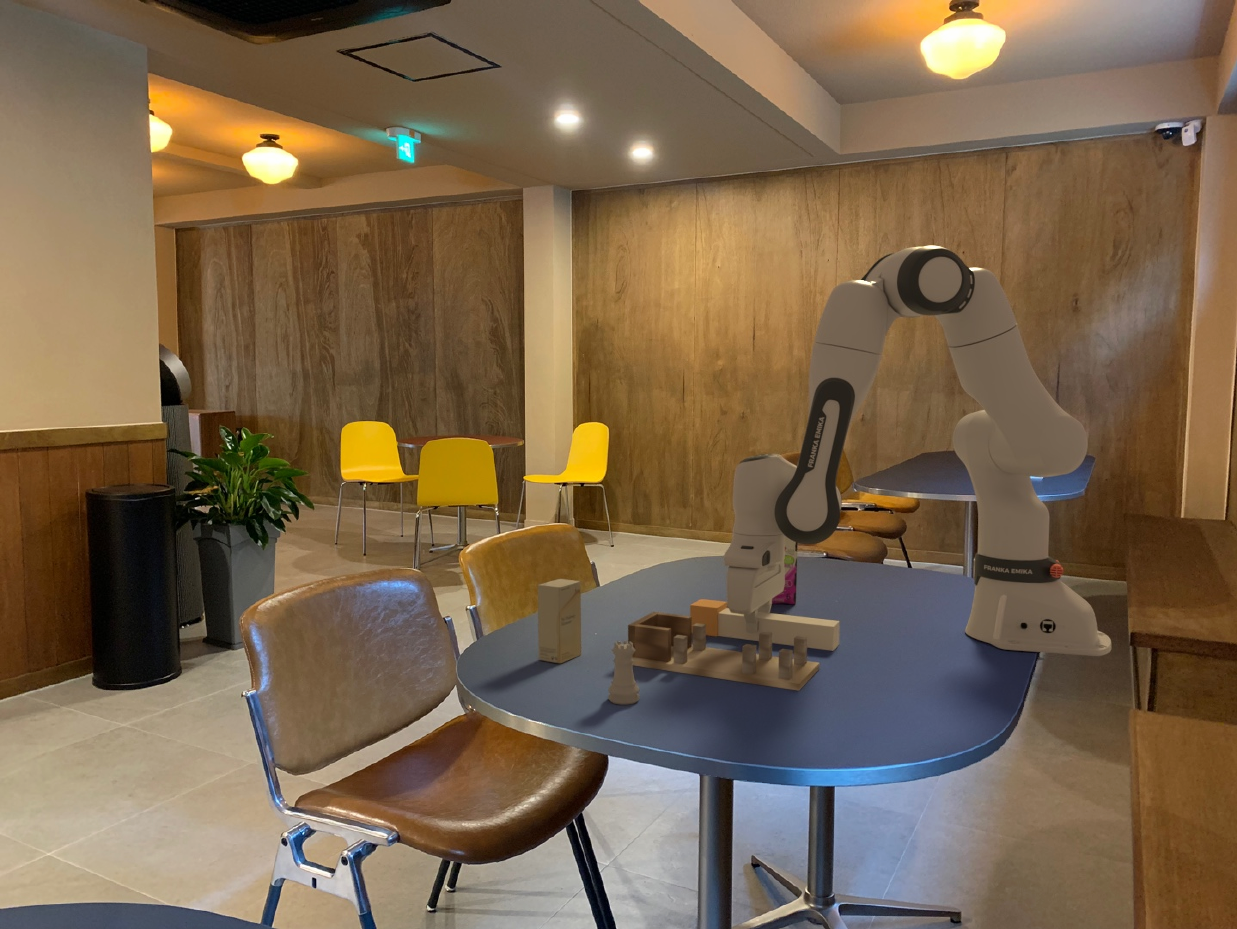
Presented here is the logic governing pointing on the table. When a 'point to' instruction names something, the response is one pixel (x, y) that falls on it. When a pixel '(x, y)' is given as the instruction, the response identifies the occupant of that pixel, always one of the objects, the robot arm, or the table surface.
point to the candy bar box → (789, 575)
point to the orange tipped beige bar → (765, 625)
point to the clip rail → (716, 654)
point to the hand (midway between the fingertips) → (757, 628)
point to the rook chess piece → (623, 676)
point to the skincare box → (559, 620)
